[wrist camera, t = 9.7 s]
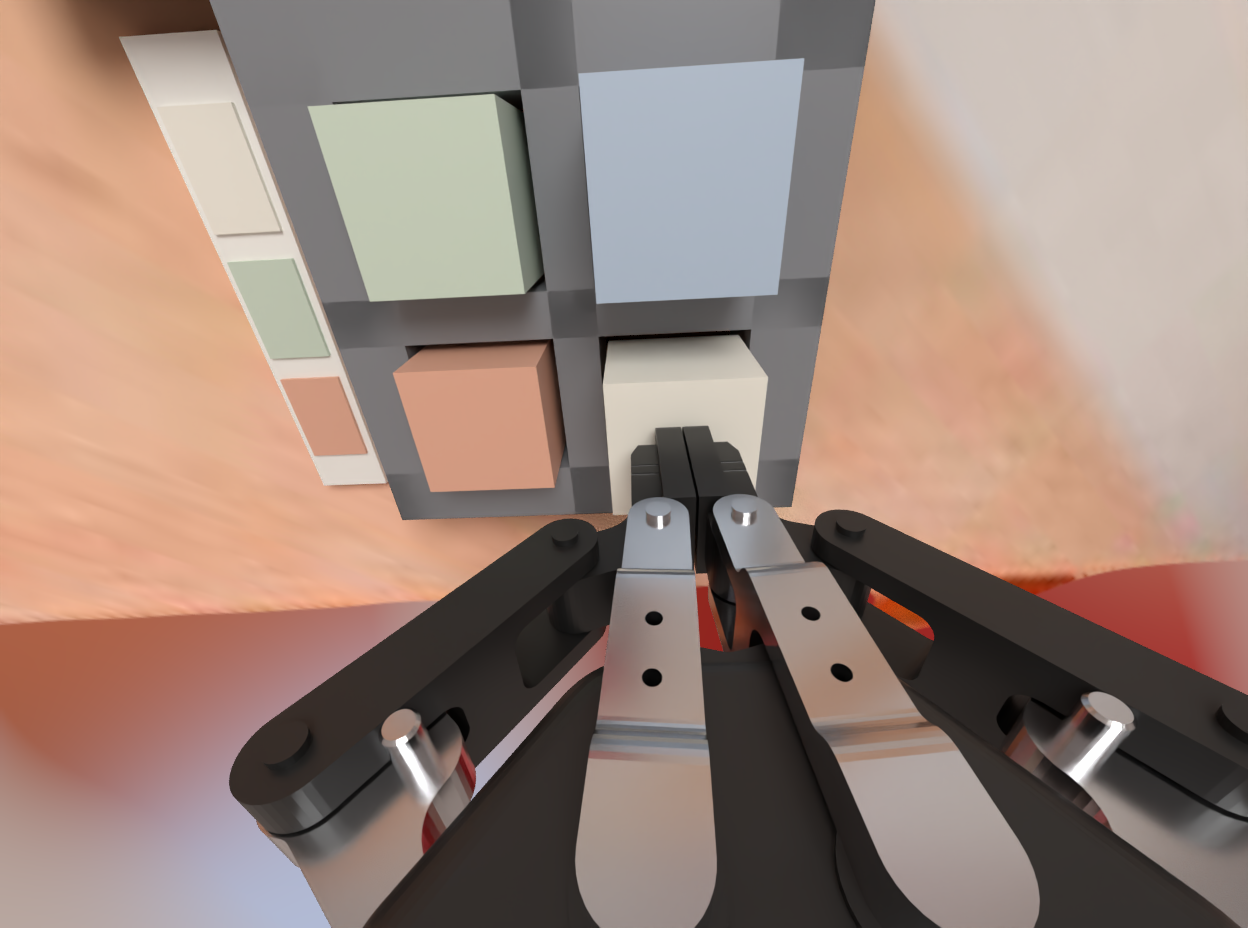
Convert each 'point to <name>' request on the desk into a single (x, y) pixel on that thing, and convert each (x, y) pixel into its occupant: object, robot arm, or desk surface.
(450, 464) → the terracotta key
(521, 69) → the keypad base
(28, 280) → the desk surface
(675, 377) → the cream key
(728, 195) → the slate key
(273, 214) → the strip
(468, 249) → the sage key
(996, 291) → the desk surface
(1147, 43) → the desk surface
